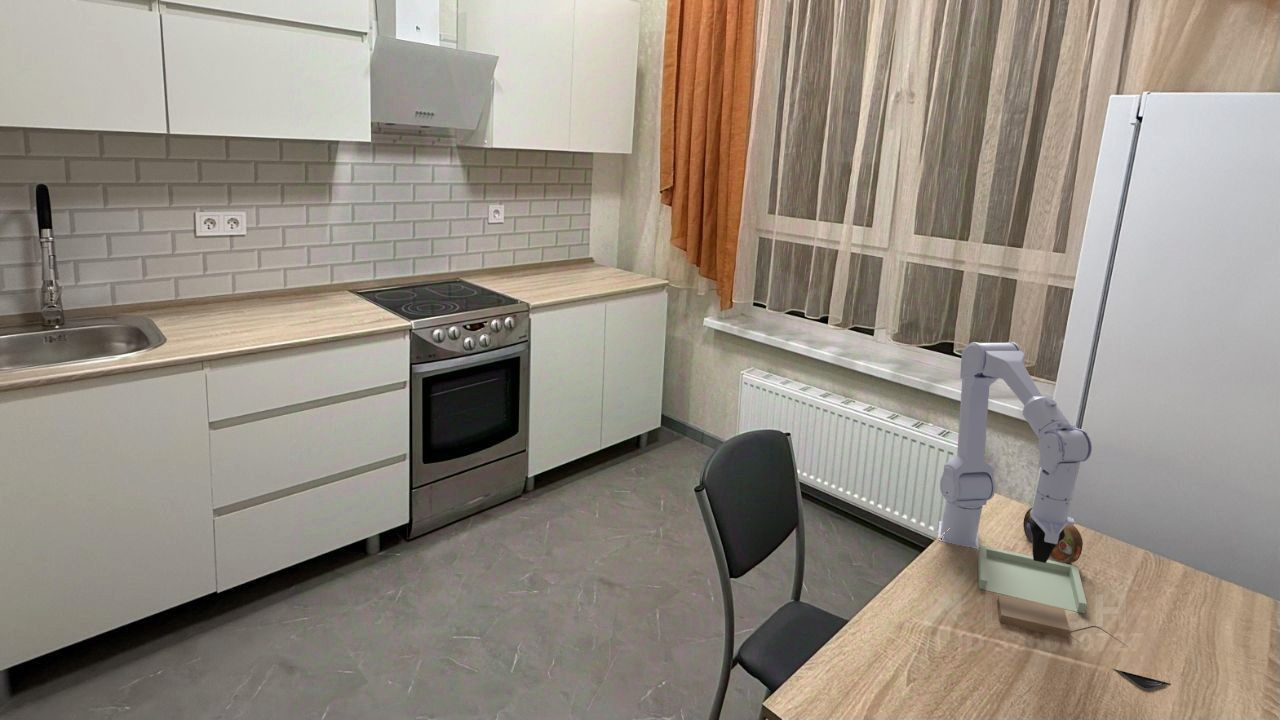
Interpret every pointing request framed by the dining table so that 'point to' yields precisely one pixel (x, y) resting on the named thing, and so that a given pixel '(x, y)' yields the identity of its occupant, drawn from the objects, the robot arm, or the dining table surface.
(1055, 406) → the robot arm
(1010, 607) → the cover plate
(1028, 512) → the tin
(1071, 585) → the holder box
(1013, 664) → the dining table surface
